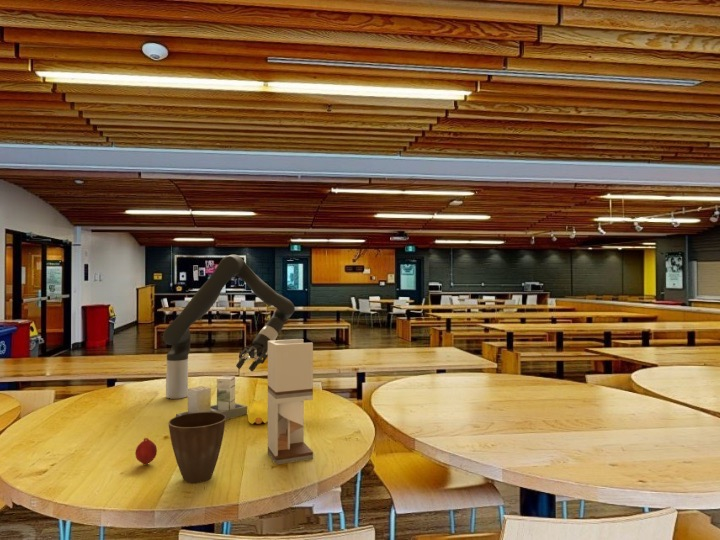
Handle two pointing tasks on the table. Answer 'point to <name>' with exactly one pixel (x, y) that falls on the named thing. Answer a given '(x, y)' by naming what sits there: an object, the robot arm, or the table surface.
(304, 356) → the white brown-banded tower
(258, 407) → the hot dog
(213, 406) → the grey rectangular tray
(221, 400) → the syrup box
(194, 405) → the block
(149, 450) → the onion
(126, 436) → the table surface
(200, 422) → the plant pot
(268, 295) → the robot arm
